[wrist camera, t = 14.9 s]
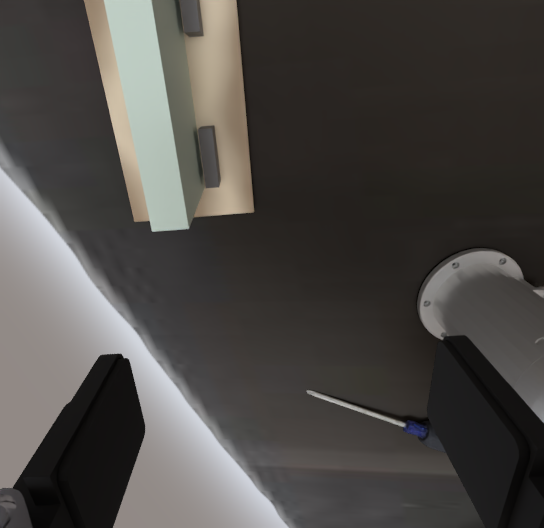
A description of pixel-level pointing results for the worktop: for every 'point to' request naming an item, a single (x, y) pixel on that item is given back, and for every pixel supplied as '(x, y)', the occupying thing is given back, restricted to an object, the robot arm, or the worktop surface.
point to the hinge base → (207, 104)
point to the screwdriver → (394, 422)
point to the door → (159, 107)
